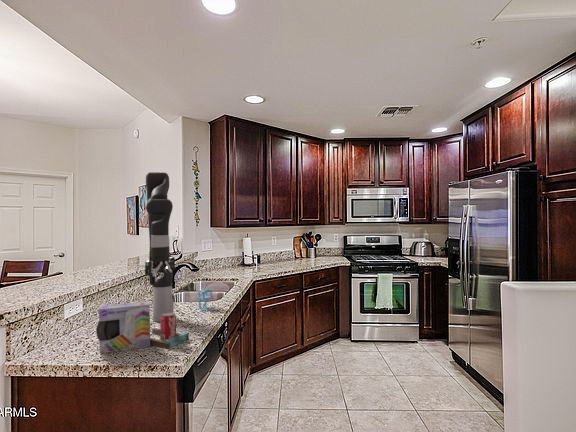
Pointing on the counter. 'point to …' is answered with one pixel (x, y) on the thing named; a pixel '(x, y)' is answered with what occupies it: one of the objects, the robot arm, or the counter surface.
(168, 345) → the guide channel
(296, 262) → the counter surface
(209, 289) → the light blue translucent piece
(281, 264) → the counter surface
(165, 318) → the beverage can
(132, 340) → the cake pan box
